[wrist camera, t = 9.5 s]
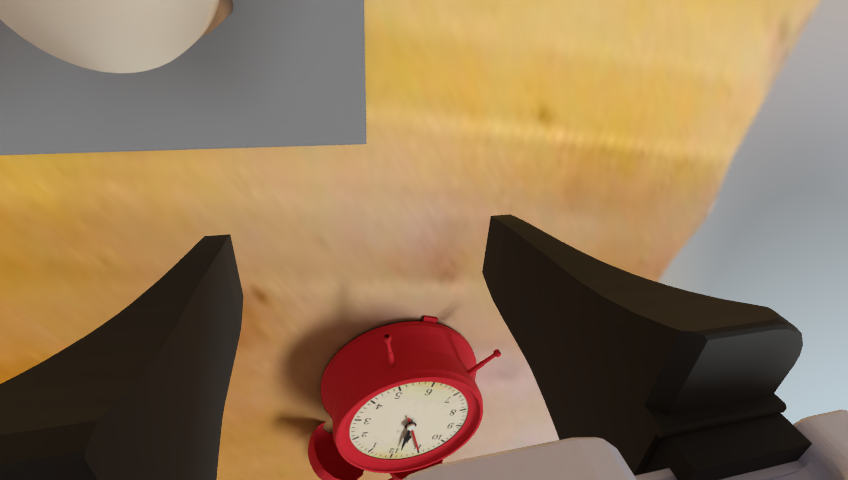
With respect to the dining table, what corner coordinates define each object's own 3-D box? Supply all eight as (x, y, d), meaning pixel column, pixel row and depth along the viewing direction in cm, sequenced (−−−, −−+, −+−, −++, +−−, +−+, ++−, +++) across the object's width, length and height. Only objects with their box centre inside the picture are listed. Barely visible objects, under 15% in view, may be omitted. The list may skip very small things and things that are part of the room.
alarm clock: (529, 357, 26) (447, 548, 30) (484, 307, 32) (419, 473, 35) (361, 335, 22) (290, 560, 26) (343, 283, 28) (287, 473, 31)
